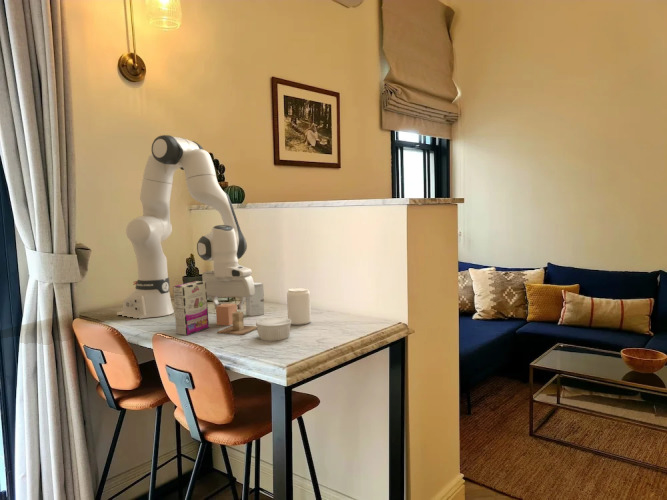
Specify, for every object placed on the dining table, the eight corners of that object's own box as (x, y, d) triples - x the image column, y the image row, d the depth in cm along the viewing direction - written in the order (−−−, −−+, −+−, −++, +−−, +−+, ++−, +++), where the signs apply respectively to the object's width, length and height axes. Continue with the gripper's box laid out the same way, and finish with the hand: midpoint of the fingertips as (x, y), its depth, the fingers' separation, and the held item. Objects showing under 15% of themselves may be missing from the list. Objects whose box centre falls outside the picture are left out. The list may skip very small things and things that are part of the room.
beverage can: (299, 326, 176) (297, 292, 174) (283, 323, 181) (282, 289, 180) (315, 322, 181) (314, 288, 180) (299, 319, 187) (298, 286, 186)
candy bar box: (198, 326, 180) (195, 280, 178) (209, 328, 177) (206, 281, 176) (175, 334, 170) (172, 285, 168) (186, 335, 167) (183, 286, 166)
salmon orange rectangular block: (216, 324, 182) (215, 306, 182) (225, 321, 187) (224, 303, 186) (229, 325, 180) (228, 307, 180) (237, 322, 185) (236, 304, 184)
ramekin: (286, 342, 156) (286, 325, 156) (251, 341, 158) (250, 325, 158) (295, 333, 167) (295, 317, 167) (262, 332, 169) (262, 317, 168)
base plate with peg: (217, 333, 170) (216, 314, 169) (234, 326, 179) (233, 308, 178) (242, 335, 166) (242, 316, 165) (258, 328, 175) (258, 310, 174)
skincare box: (250, 316, 194) (249, 284, 193) (245, 314, 198) (244, 283, 197) (265, 314, 197) (263, 283, 196) (260, 312, 201) (258, 281, 200)
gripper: (196, 272, 183) (199, 310, 184) (246, 272, 176) (248, 311, 177) (207, 269, 189) (209, 306, 190) (255, 269, 181) (258, 307, 183)
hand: (229, 309), depth 183 cm, fingers open, 8 cm apart
